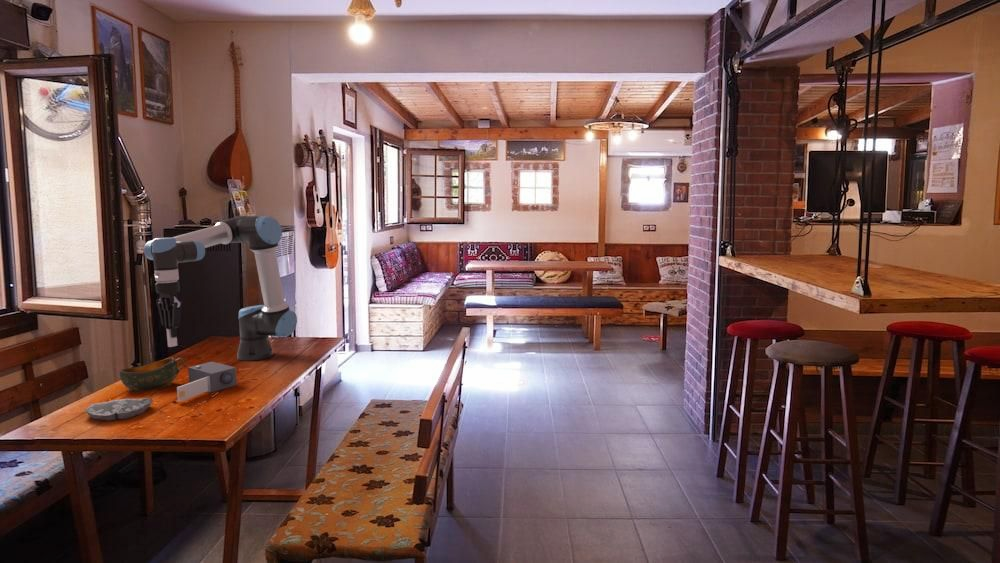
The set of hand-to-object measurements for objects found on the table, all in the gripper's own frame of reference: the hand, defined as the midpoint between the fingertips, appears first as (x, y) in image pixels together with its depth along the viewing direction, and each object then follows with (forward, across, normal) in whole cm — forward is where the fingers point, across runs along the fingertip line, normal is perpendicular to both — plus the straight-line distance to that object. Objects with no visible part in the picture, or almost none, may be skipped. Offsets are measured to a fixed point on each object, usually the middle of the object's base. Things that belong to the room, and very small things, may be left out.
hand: (172, 346), depth 226 cm
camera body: (+19, -2, +16) cm, 25 cm away
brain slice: (+20, 0, -20) cm, 28 cm away
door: (+19, +6, +3) cm, 20 cm away
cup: (+20, -20, +2) cm, 28 cm away
